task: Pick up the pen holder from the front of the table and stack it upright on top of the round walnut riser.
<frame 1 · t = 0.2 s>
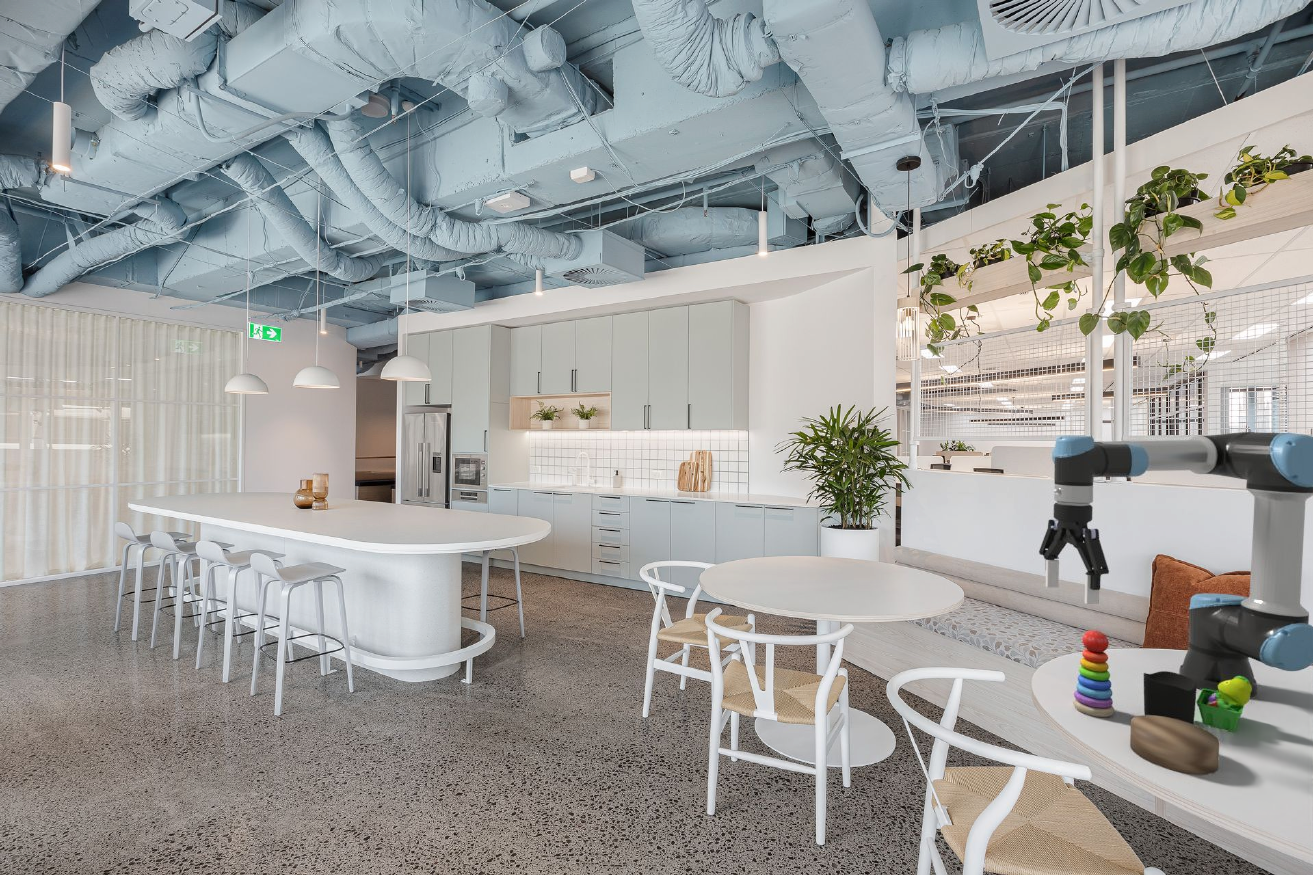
hand: (1070, 594, 150), 27 cm above the table, tool pointing down, fingers open, 13 cm apart
stacking toy: (1093, 711, 152), on the table
walnut riser: (1172, 755, 132), on the table
pen holder: (1168, 722, 147), on the table
fruit basket: (1223, 724, 146), on the table
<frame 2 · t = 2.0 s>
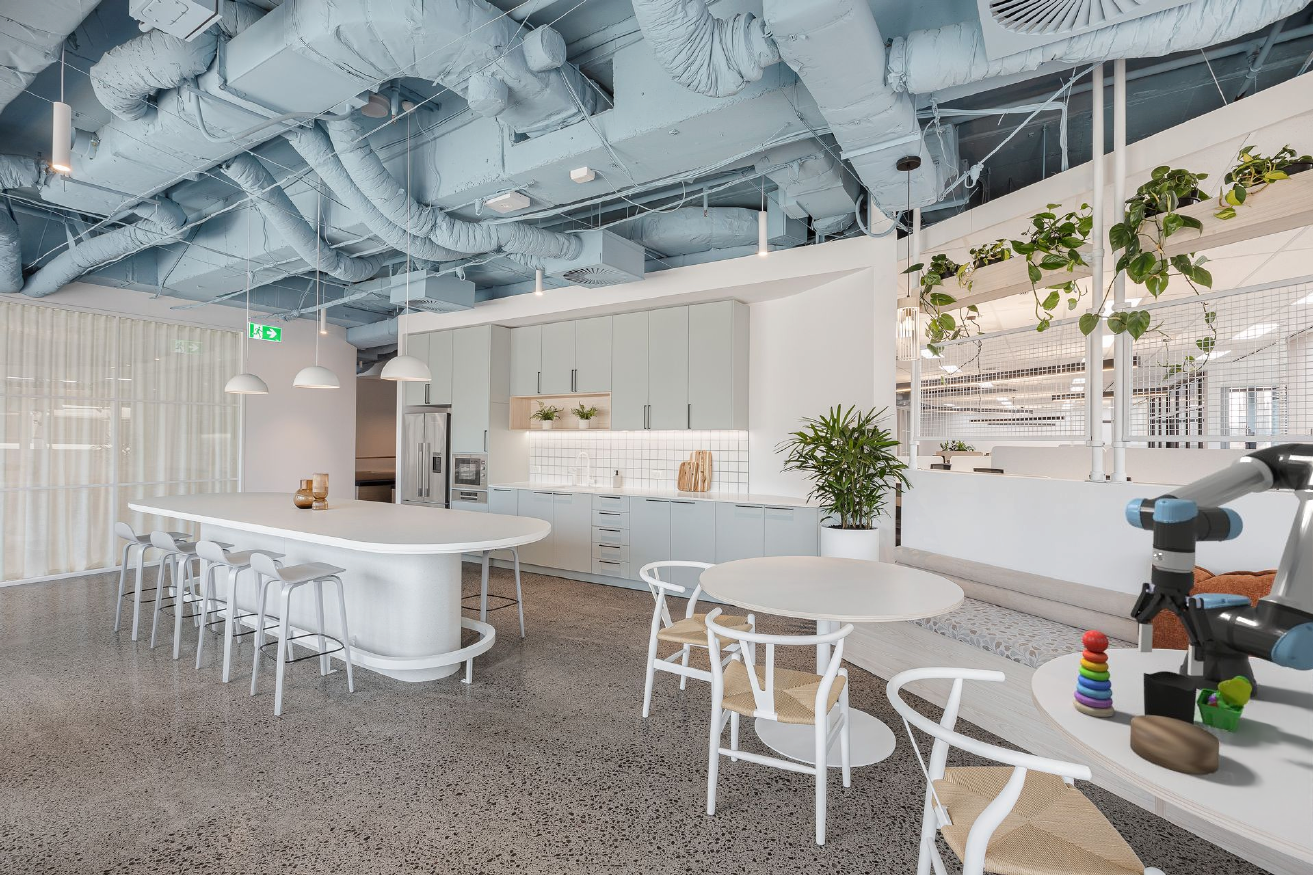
hand: (1168, 662, 146), 13 cm above the table, tool pointing down, fingers open, 13 cm apart
nothing on the table moved.
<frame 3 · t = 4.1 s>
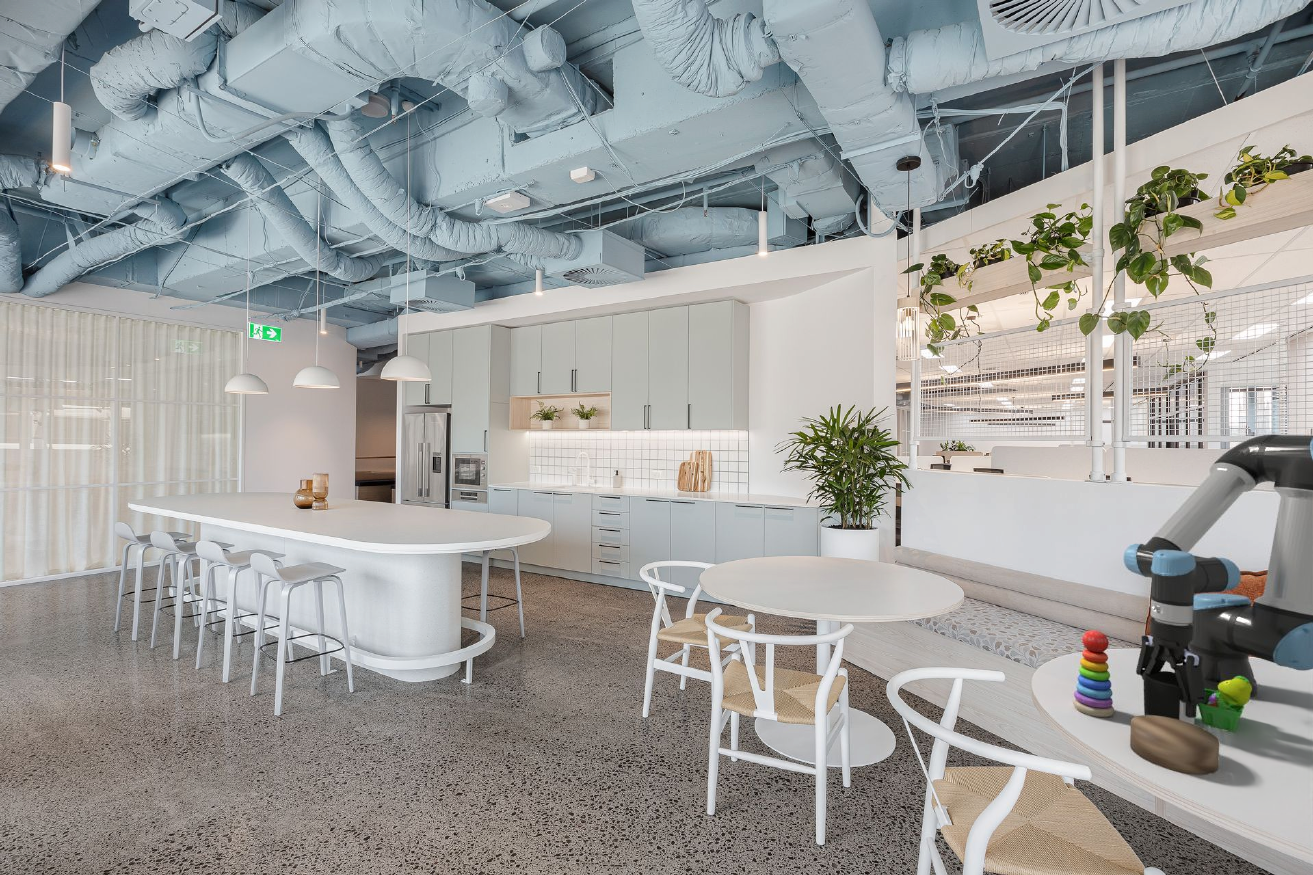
hand: (1168, 719, 147), 0 cm above the table, tool pointing down, fingers closed on pen holder, 9 cm apart
pen holder: (1168, 722, 147), on the table, touching gripper
everything else where it was.
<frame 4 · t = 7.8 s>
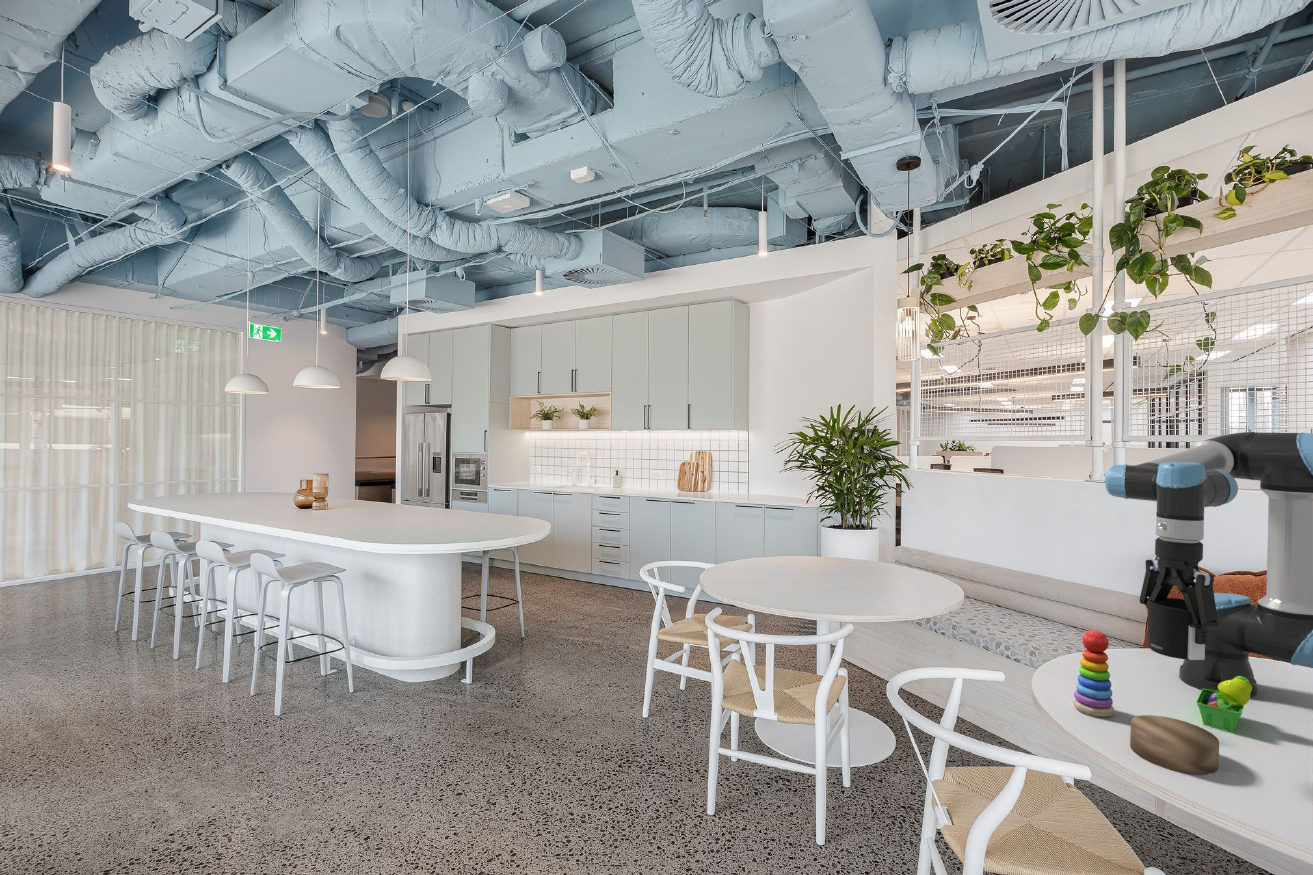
hand: (1175, 650, 132), 22 cm above the table, tool pointing down, fingers closed on pen holder, 9 cm apart
pen holder: (1175, 653, 132), point 21 cm above the table, touching gripper
everything else where it was.
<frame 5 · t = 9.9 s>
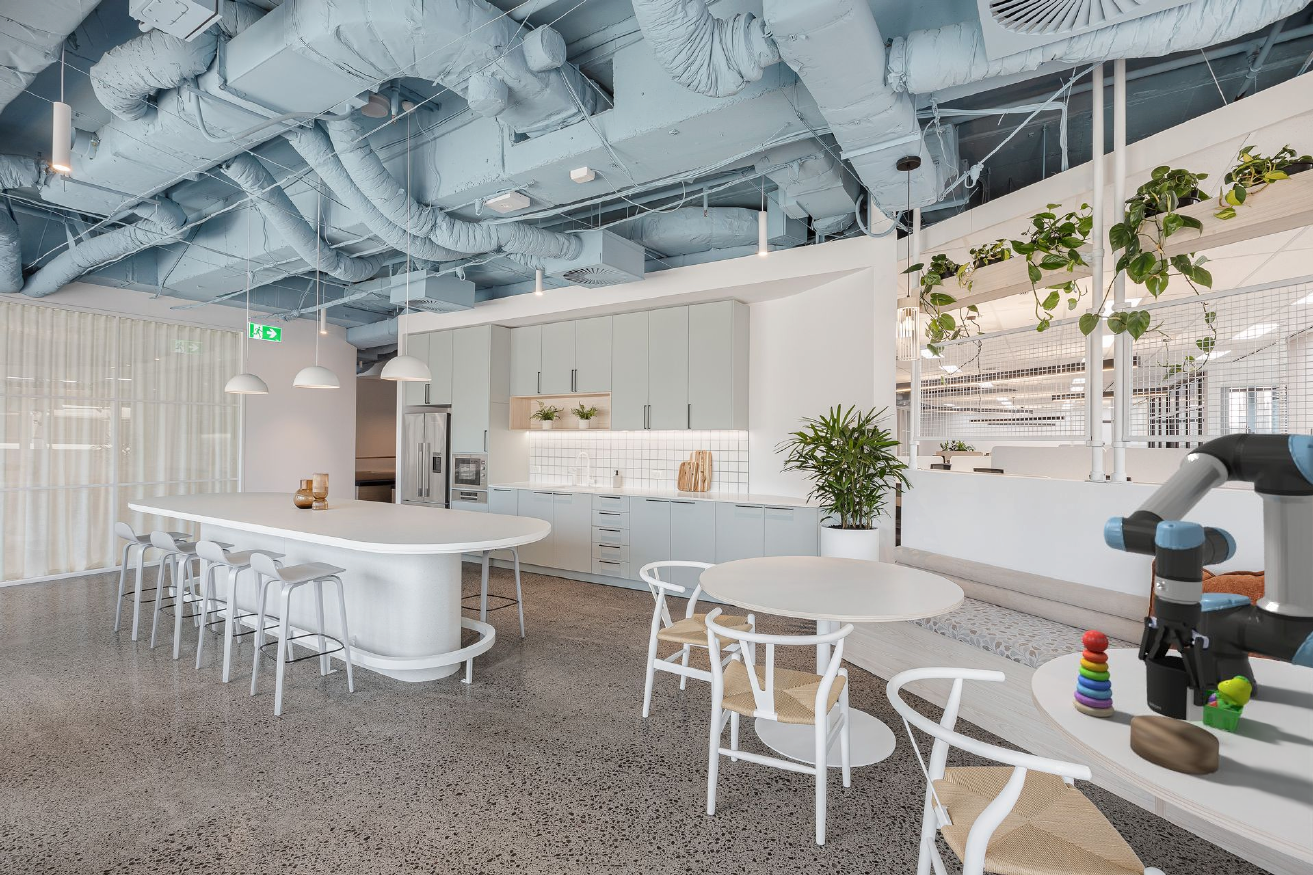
hand: (1174, 709, 132), 10 cm above the table, tool pointing down, fingers closed on pen holder, 9 cm apart
pen holder: (1173, 712, 132), point 9 cm above the table, touching gripper
everything else where it was.
when the fingers open (7 cm above the table, at t = 11.4 s): pen holder drops 1 cm, resting on walnut riser.
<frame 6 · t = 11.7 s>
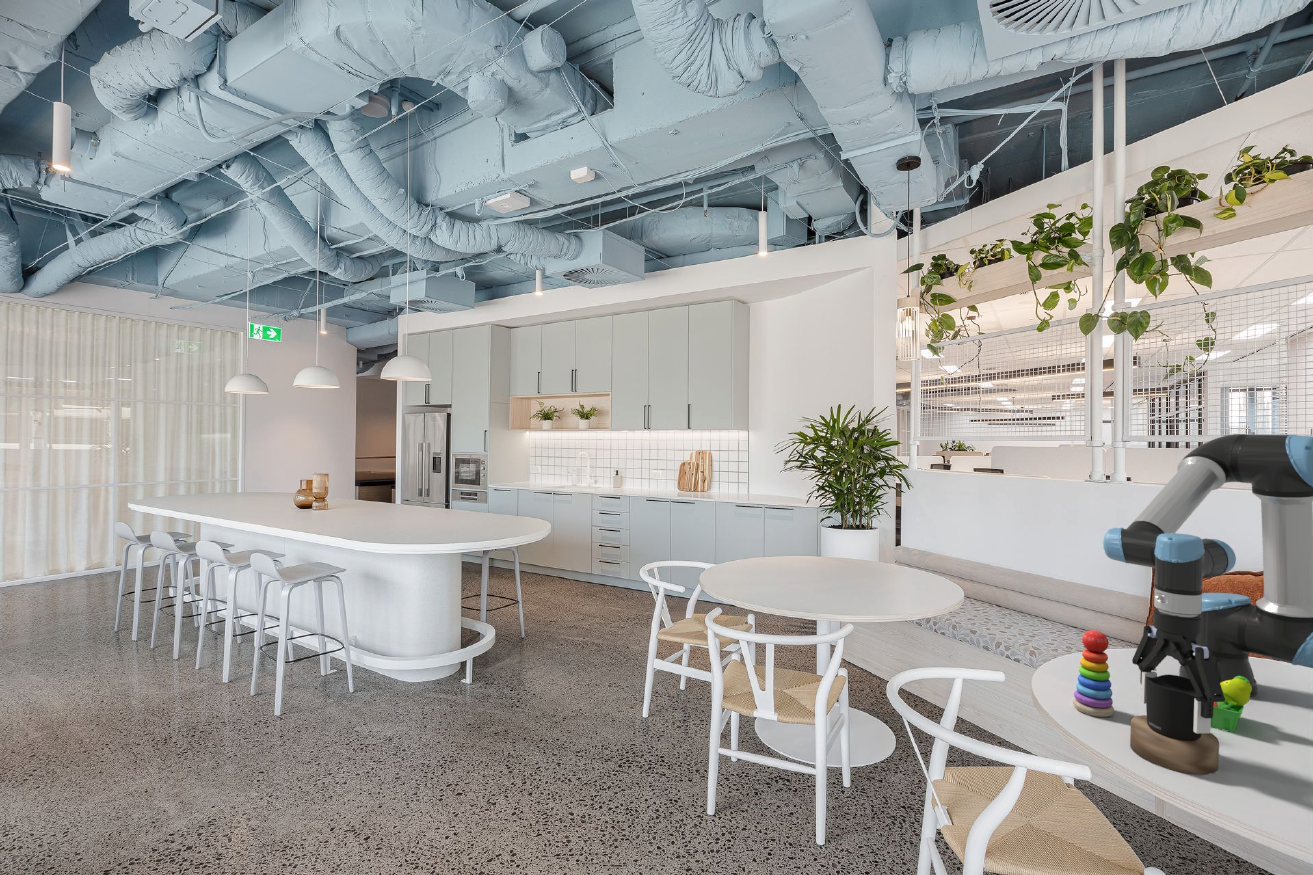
hand: (1174, 716, 132), 8 cm above the table, tool pointing down, fingers open, 12 cm apart
pen holder: (1173, 731, 132), point 5 cm above the table, touching walnut riser
everything else where it was.
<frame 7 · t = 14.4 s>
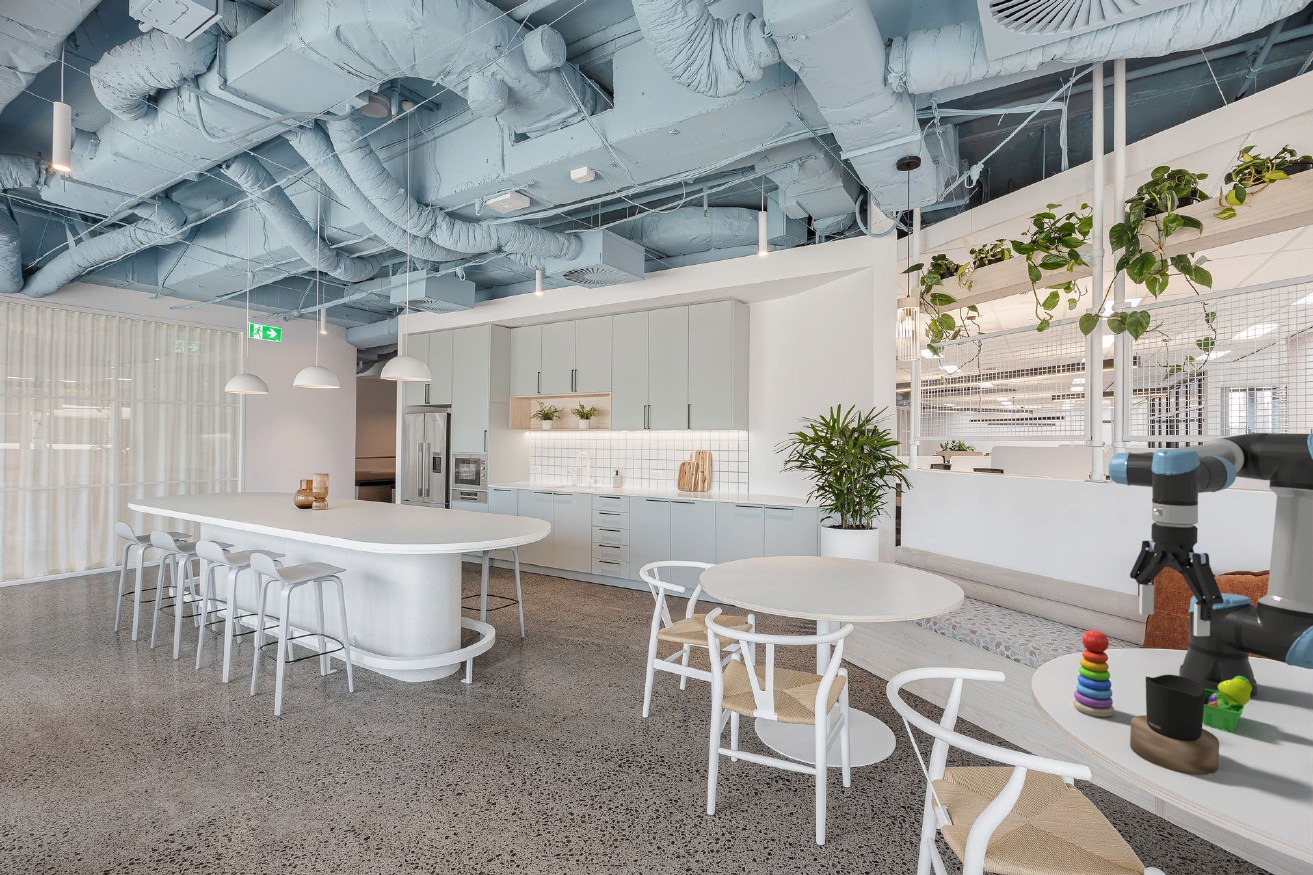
hand: (1172, 624, 137), 25 cm above the table, tool pointing down, fingers open, 13 cm apart
nothing on the table moved.
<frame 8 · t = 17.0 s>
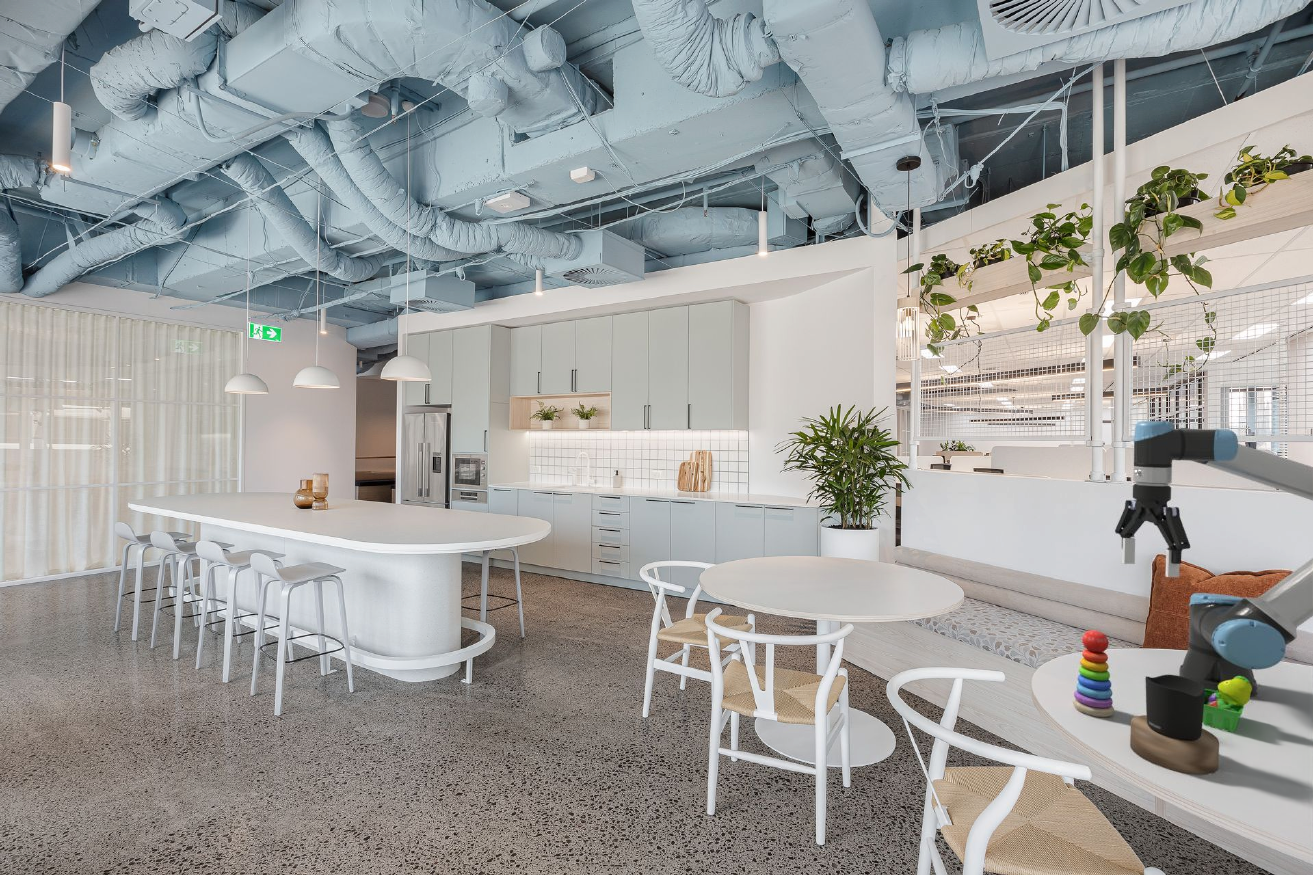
hand: (1149, 569, 161), 31 cm above the table, tool pointing down, fingers open, 13 cm apart
nothing on the table moved.
at the end: pen holder 0.0 cm off-centre on the walnut riser, point 4.8 cm above the walnut riser's base; pen holder tilted 0°; pen holder touching walnut riser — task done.
